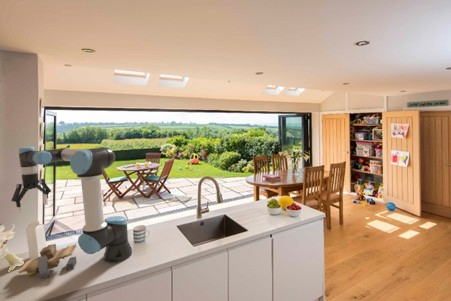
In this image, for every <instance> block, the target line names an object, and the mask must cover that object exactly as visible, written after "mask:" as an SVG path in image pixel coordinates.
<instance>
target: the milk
mask: <svg viewBox="0 0 451 301" xmlns="http://www.w3.org/2000/svg"><path fill="white" fill-rule="evenodd" d="M25 232H26V239H27V241H26V242H27V248H28V256H29V260H31V259H34V258H37V257H40V256H41V255H40V251H41V250H42V249H43V248H44V247H47V240H46V233H45V224H42V223H40V221H38V220H37V221H36V220H34V221H33V220H32V221H31V220H30V221H29V224H28V225H27V227H26V228H25Z"/></svg>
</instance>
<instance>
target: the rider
mask: <svg viewBox="0 0 451 301" xmlns="http://www.w3.org/2000/svg"><path fill="white" fill-rule="evenodd" d="M52 244H53V245H52ZM52 244H49V245H50V246H48V245H46V247H44V248H43V249H42V250H41V251H40V255H41V257H42V256H44V255H46V256H47V258H48V259H50V258H53V257H54V256H55V255H56V253H57V252H56V250H57V248H56V249H55V247H54V244H55V243H52Z"/></svg>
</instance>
